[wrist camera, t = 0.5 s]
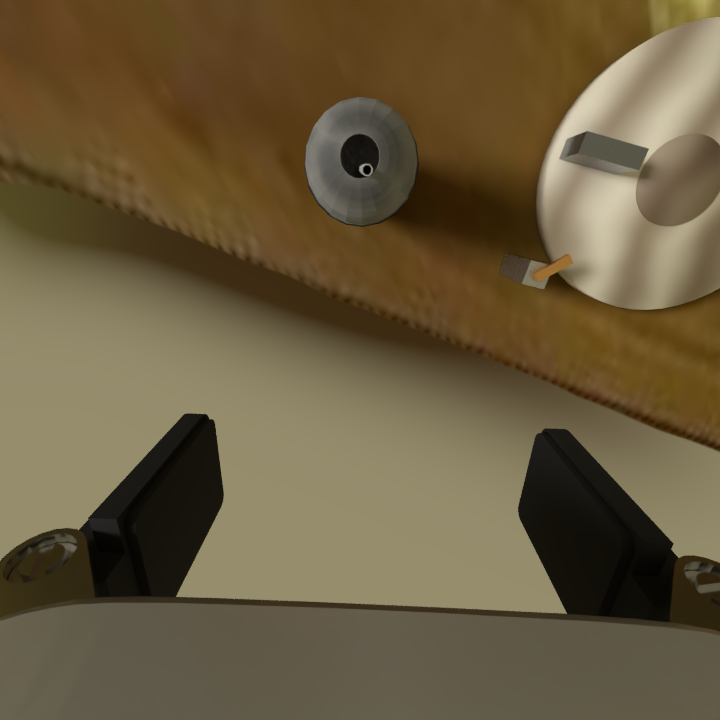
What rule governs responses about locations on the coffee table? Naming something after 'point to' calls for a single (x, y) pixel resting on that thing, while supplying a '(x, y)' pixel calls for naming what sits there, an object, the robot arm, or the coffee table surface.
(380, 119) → the beverage cup
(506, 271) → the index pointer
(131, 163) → the coffee table surface
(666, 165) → the turntable
